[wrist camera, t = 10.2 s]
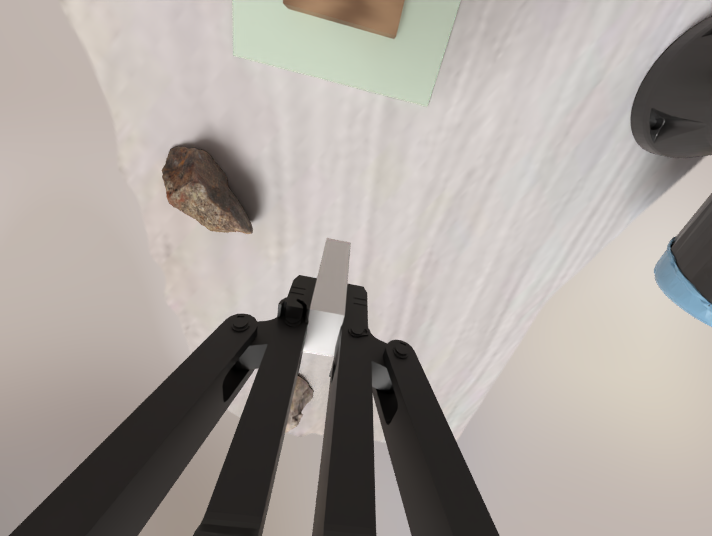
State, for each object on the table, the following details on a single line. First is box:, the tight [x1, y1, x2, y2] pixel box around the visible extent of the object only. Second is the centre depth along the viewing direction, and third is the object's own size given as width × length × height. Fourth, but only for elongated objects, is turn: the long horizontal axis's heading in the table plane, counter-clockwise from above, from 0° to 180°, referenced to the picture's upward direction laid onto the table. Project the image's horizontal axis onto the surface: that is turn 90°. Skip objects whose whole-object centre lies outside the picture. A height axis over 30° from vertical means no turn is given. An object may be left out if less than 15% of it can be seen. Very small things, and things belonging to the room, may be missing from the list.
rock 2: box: [285, 376, 313, 433], centre depth 66 cm, size 15×12×10 cm
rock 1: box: [162, 147, 253, 234], centre depth 39 cm, size 14×9×10 cm
